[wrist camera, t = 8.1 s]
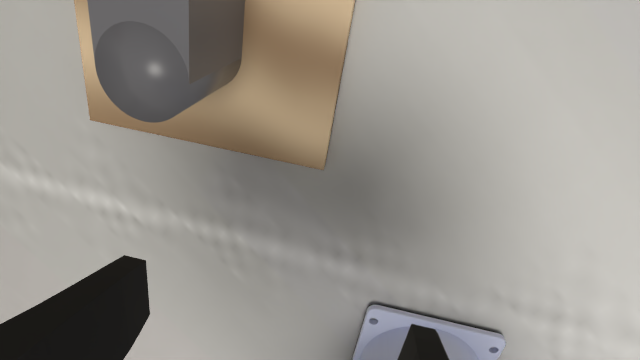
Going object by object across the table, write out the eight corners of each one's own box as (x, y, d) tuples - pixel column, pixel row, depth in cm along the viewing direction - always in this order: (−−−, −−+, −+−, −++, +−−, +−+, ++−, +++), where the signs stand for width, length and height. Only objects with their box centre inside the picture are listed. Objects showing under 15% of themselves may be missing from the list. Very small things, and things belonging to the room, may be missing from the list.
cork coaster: (325, 164, 19) (323, 170, 18) (97, 116, 20) (90, 120, 19) (381, -141, 13) (381, -147, 13) (59, -193, 14) (47, -200, 14)
